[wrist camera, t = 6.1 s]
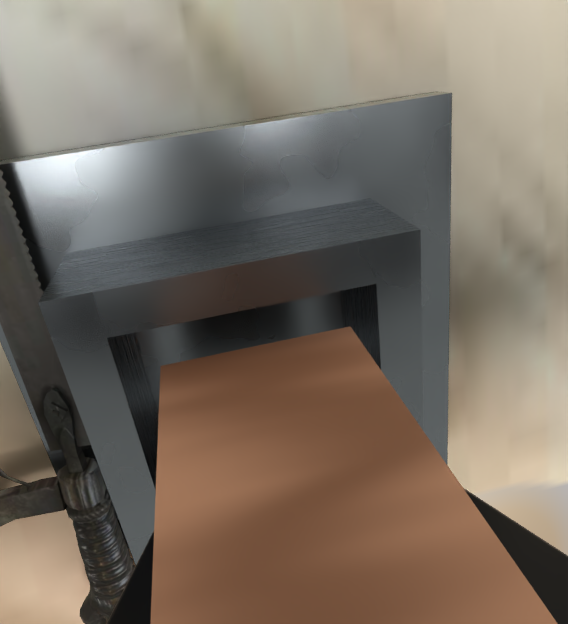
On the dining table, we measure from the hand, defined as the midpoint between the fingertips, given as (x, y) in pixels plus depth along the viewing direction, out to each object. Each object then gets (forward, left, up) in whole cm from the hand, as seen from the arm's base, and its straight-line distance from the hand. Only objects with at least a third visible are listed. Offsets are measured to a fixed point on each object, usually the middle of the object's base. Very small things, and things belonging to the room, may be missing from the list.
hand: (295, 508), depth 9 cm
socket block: (0, 0, -7) cm, 7 cm away
